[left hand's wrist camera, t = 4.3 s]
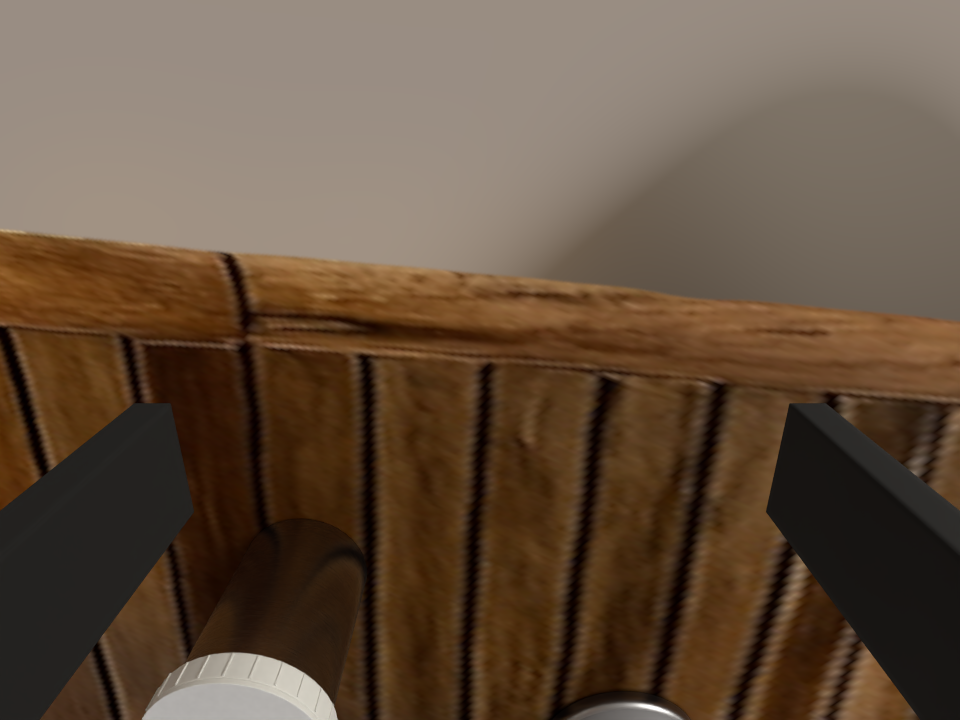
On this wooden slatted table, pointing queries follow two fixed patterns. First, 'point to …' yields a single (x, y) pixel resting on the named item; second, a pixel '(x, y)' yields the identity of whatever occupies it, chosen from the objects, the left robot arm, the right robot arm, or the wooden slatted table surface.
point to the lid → (239, 691)
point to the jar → (292, 601)
